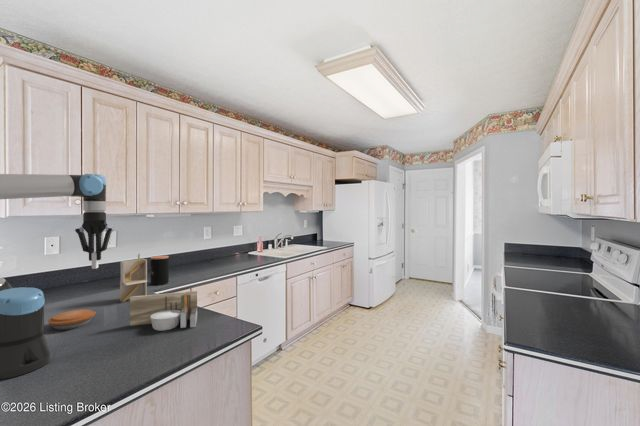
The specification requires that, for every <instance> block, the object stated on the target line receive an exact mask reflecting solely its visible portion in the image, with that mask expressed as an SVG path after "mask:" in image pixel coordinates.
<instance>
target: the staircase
mask: <svg viewBox="0 0 640 426" xmlns="http://www.w3.org/2000/svg"><path fill="white" fill-rule="evenodd" d="M147 282H148V259H146V258H140V253H138V254H137V259H128V260H121V261H120V281H119V301H120V302H122V303H125V302H126V301H128V300H129V301H130V297H132V296H144V295H147V294H148V283H147Z"/></svg>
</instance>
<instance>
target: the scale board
mask: <svg viewBox="0 0 640 426" xmlns="http://www.w3.org/2000/svg"><path fill="white" fill-rule="evenodd" d="M184 294H187V306H188V320H190V314H191V311H192V308H197V309H198V291H197V290H193V291H181V292H169V293H160V294H159V293H157V294H148V295H144V296H132V297H130V299H129V326H131V327H132V326H133V327H134V326H141V325H152V322H151V319H150V317H151V315H152V314H154V313H156V312H160V311H164V310H178V311H180V312H181V311H182V308H183V306H184ZM179 321H181V316H180V320H179Z"/></svg>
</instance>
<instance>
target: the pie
mask: <svg viewBox="0 0 640 426" xmlns="http://www.w3.org/2000/svg"><path fill="white" fill-rule="evenodd" d="M95 315H96V311H94V310H91V309H86V308H85V309H81V308H80V309H74V310H69V311H65V312H61V313H58V314H56V315H54V316H53V317H49V319H48V320H47V323H48V324H50V325H51V327H53V328H54V329H55V330H56V331H57V330H58V331H60V330H61V331H65V330H72V329H76V328H81V327H83V326H86V325H87V324H89V323H90V322H91V320H92V319H93V317H94V316H95Z"/></svg>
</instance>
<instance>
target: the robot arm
mask: <svg viewBox="0 0 640 426" xmlns="http://www.w3.org/2000/svg"><path fill="white" fill-rule="evenodd" d="M106 181H107V180H106V176H104V175H102V174H98V173H84V174H41V173H40V174H39V173H38V174H35V173H34V174H31V173H29V174H28V173H27V174H24V173H0V200H16V199H33V198H39V199H40V198H56V197H60V198H61V197H79V198H82V205H83V206H82V207H83V208H82V210H83V211H84V212H83V213H82V219H83V220H82V221H83V222H82V224H81V226H80V227H79V228H75V229H74V232H75V233H76V234H77V235H78V238H79V241H80V245H81V249H82V251H83V253H84V252H86V253H88V261H89V262H90V261H91V269H92V270H95V269H99V261H100V260H102V252H104V251H106V250H107V248H108V246H109V241H110V237H111V234H112V232H113V231H114V229H115V228H114V227H110V226H109V225H108V224H107V213H106V211H107V201H106V200H107V196H106V195H107V182H106ZM104 231H105V234H104V237H103V241H102V234H103V232H104ZM85 232H86V233H87V237H88V239H87V238H86V235H85ZM87 240H88V242H87ZM45 302H46V300H45V295H44V291H42V289H39V288H38V287H37V288H36V287H32V286H31V287H12V285H11V284H10V283H9V282H8V281H7V279H5V278H4V277H0V380H6V379H10V378H15V377H19V376H22V375H25V374H28V373H30V372H33V371H36V370H38V369H40V368H42V367H44V366H45V365H46V366H47V364H49V363H50V362H51V360H52V357H53V355H52V349H51V346H50V345H49V343H48V341H47V339H46V337H45Z"/></svg>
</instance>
